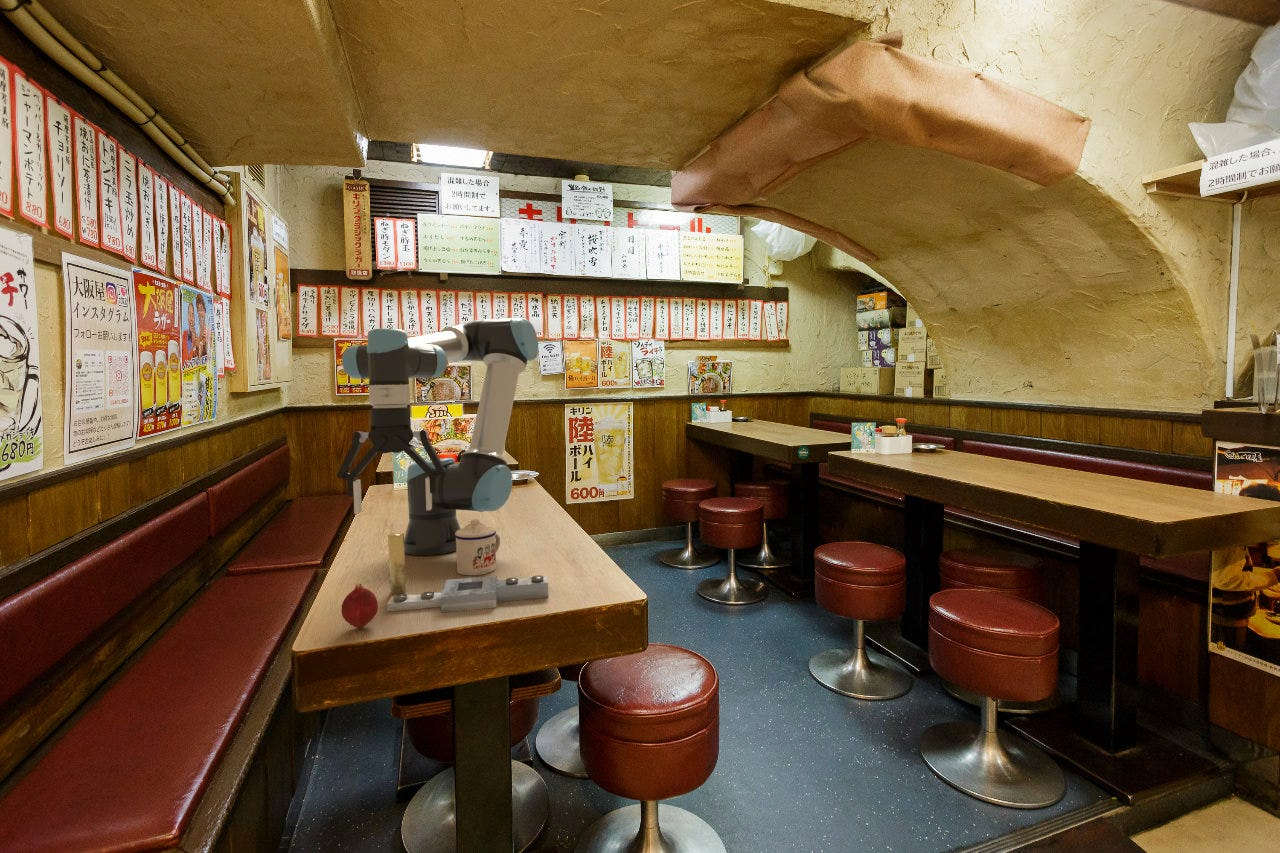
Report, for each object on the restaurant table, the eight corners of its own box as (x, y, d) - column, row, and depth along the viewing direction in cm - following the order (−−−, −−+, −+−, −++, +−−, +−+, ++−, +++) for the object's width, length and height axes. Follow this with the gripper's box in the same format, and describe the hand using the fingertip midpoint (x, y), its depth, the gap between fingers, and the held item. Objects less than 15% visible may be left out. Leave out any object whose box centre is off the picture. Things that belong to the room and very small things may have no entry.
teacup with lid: (476, 578, 130) (474, 526, 129) (447, 572, 135) (445, 522, 134) (514, 564, 140) (512, 515, 139) (486, 558, 145) (484, 511, 144)
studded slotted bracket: (394, 598, 119) (393, 580, 118) (546, 585, 125) (546, 569, 125) (384, 617, 109) (383, 598, 108) (549, 602, 115) (548, 584, 115)
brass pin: (392, 590, 124) (389, 533, 123) (407, 588, 124) (404, 532, 123) (389, 595, 121) (386, 536, 120) (404, 593, 121) (402, 535, 120)
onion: (384, 627, 104) (382, 582, 104) (351, 638, 100) (348, 591, 100) (370, 618, 108) (368, 576, 108) (337, 628, 104) (334, 584, 103)
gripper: (316, 408, 113) (321, 518, 115) (452, 406, 119) (456, 511, 120) (328, 407, 121) (333, 510, 122) (456, 405, 126) (459, 504, 127)
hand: (394, 511), depth 121 cm, fingers open, 13 cm apart
